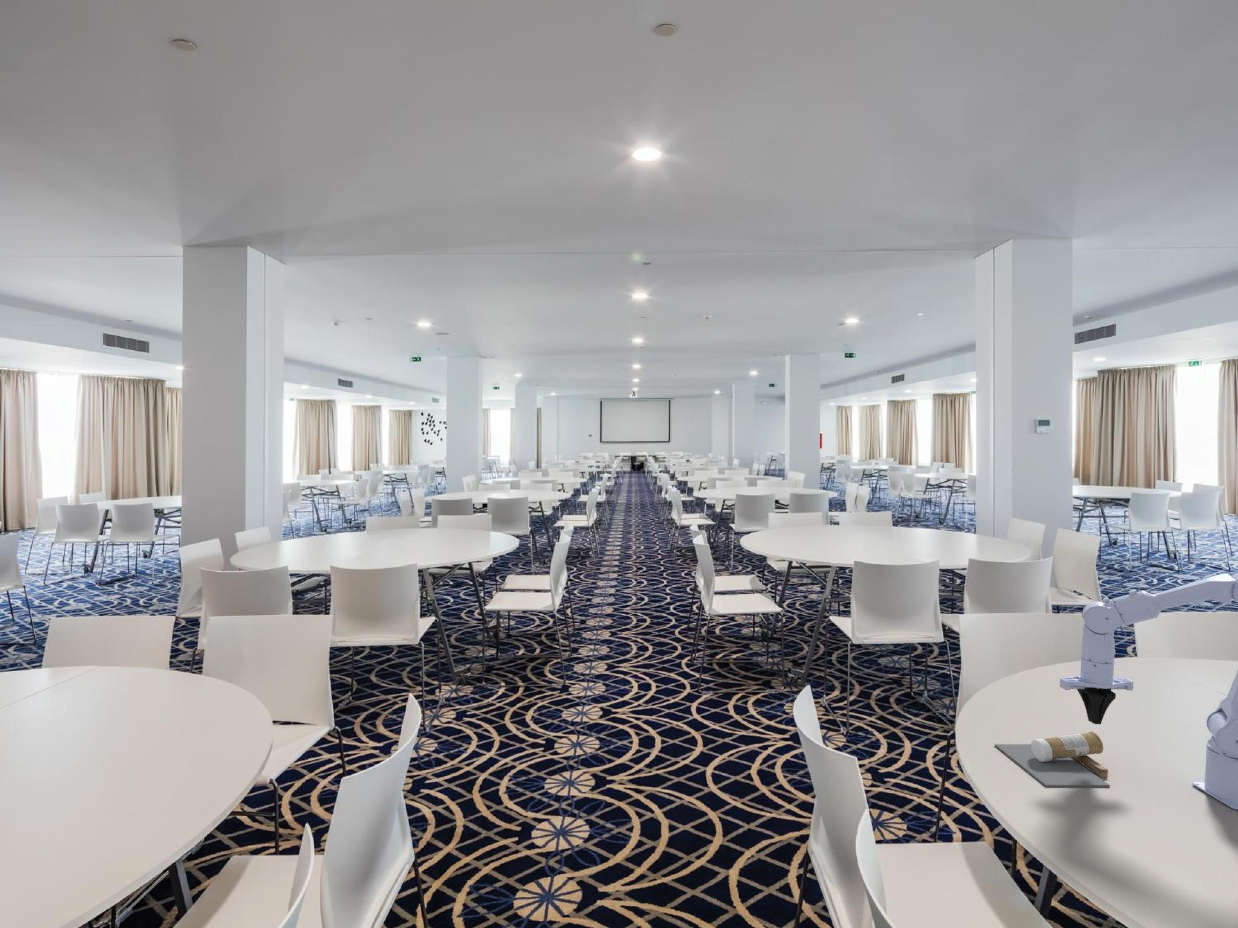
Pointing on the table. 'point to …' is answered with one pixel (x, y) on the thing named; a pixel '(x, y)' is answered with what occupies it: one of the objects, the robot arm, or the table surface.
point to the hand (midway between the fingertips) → (1094, 722)
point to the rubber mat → (1051, 768)
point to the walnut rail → (1093, 765)
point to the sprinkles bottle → (1067, 746)
